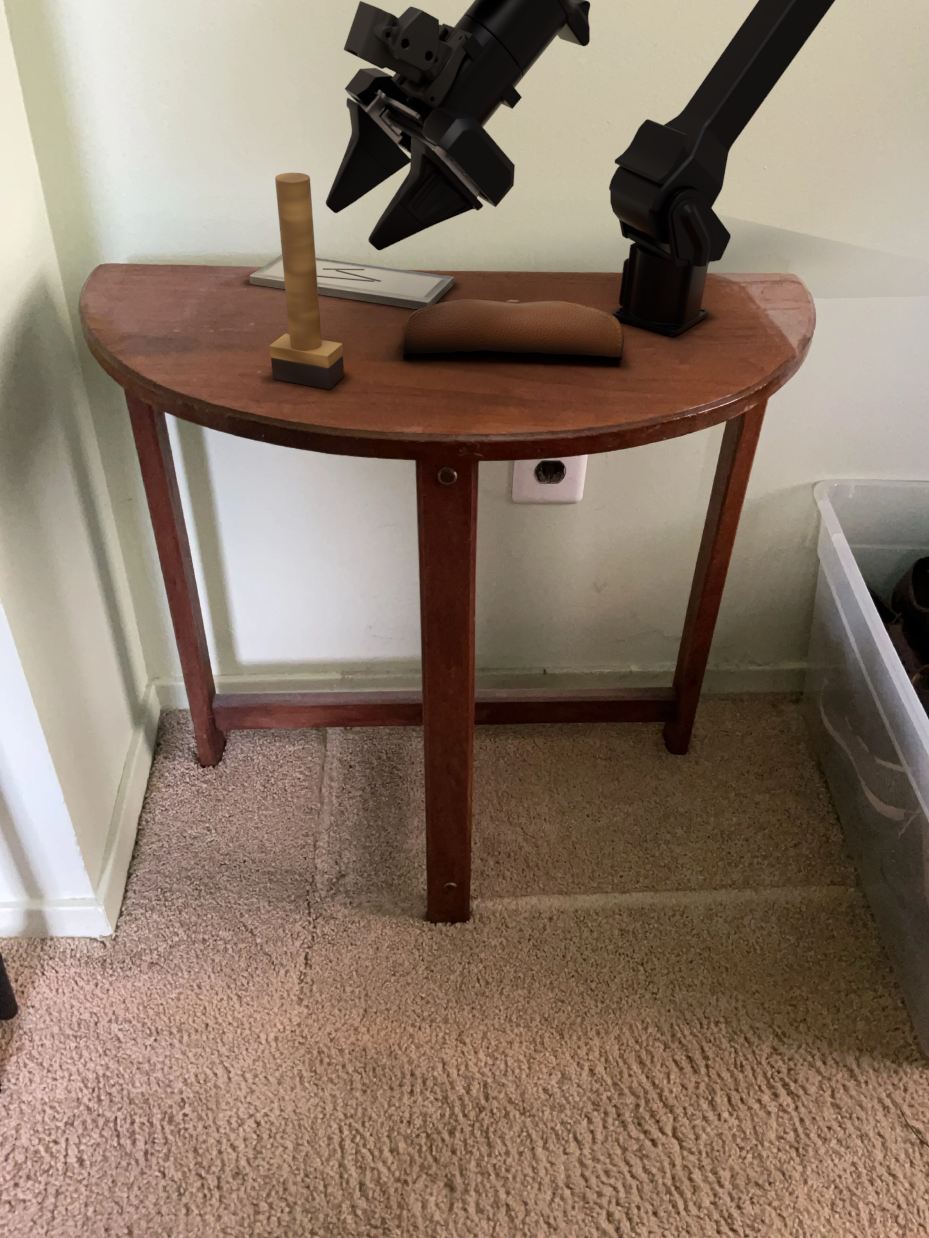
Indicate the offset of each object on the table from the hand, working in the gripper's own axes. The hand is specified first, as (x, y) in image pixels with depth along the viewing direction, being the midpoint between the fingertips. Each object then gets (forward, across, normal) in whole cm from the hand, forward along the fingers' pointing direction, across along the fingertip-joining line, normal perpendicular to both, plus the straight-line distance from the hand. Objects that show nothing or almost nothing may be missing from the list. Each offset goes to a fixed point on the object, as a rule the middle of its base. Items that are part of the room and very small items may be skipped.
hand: (350, 226), depth 73 cm
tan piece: (+11, 0, +5) cm, 12 cm away
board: (+4, -18, +12) cm, 22 cm away
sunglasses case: (-2, 0, +18) cm, 18 cm away
